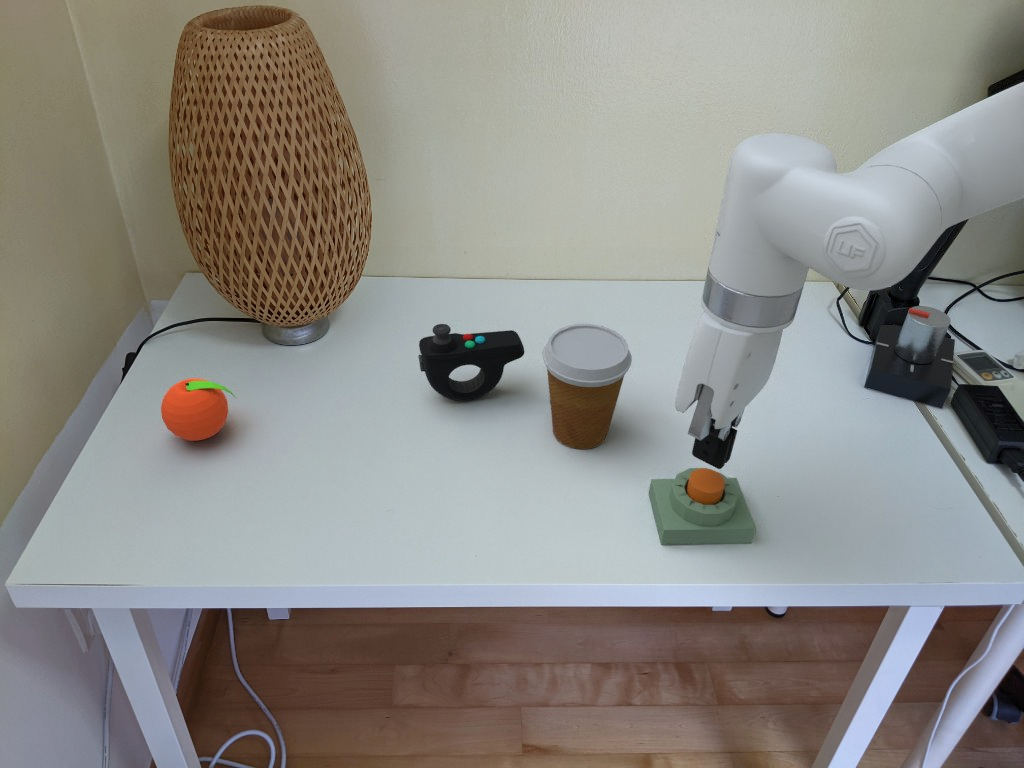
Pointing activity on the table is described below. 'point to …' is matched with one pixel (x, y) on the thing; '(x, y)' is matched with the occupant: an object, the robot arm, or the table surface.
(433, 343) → the controller
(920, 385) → the dial panel
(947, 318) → the dial
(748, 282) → the robot arm
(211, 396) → the clementine
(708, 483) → the button
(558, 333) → the disposable coffee cup
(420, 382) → the table surface
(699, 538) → the box
